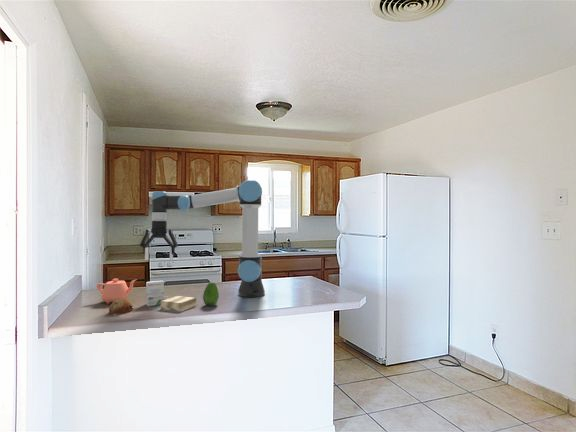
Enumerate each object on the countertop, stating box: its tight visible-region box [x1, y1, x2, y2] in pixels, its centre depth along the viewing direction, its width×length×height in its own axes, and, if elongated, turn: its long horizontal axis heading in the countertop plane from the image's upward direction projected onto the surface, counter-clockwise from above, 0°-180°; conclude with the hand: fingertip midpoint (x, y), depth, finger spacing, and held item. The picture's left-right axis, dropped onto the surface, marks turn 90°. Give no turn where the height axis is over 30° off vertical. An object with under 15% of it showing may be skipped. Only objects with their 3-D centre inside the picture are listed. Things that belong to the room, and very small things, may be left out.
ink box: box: [145, 280, 165, 307], centre depth 196 cm, size 8×5×12 cm, turn 108°
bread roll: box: [108, 299, 134, 315], centre depth 182 cm, size 10×10×8 cm
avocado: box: [202, 282, 220, 307], centre depth 194 cm, size 8×8×12 cm
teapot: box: [96, 278, 138, 305], centre depth 203 cm, size 13×20×12 cm, turn 101°
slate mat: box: [148, 304, 198, 314], centre depth 190 cm, size 18×16×1 cm
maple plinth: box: [161, 295, 197, 313], centre depth 189 cm, size 12×12×4 cm
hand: (159, 260), depth 205 cm, fingers open, 13 cm apart
